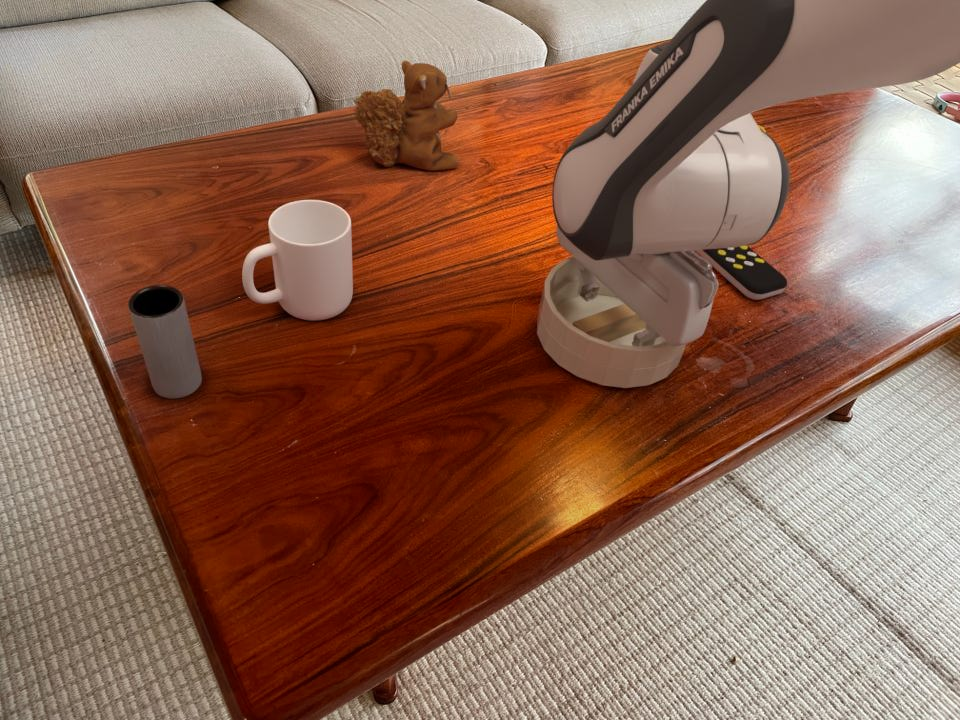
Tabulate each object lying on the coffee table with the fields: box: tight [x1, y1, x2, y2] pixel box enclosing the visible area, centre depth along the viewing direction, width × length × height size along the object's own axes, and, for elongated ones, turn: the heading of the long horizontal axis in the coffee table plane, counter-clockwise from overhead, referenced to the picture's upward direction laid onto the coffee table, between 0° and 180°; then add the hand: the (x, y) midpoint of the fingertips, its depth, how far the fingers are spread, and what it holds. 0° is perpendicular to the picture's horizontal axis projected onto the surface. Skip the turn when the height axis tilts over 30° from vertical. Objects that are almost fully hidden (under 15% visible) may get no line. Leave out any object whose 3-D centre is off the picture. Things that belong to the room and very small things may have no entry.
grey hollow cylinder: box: [127, 284, 203, 399], centre depth 68 cm, size 4×4×10 cm
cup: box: [241, 199, 354, 321], centre depth 78 cm, size 8×12×10 cm
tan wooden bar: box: [573, 304, 647, 342], centre depth 81 cm, size 10×2×3 cm, turn 122°
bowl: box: [536, 256, 688, 389], centre depth 80 cm, size 16×16×6 cm
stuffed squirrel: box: [352, 60, 460, 172], centre depth 102 cm, size 10×14×13 cm
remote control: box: [695, 245, 788, 301], centre depth 94 cm, size 6×13×2 cm, turn 27°
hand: (613, 321), depth 80 cm, fingers open, 8 cm apart
